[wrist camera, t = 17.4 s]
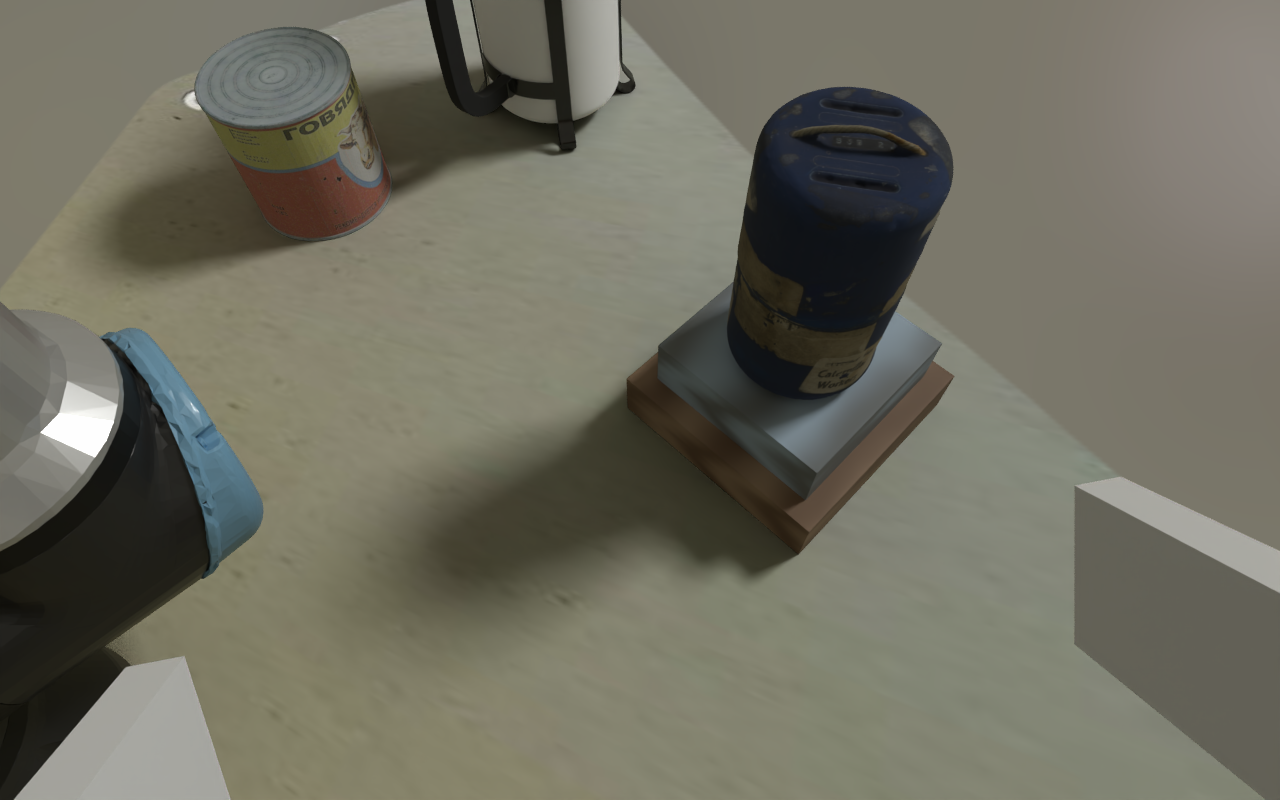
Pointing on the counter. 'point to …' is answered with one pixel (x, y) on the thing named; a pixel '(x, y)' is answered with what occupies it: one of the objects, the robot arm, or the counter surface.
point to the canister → (832, 236)
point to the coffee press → (535, 58)
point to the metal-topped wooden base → (784, 420)
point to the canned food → (297, 131)
